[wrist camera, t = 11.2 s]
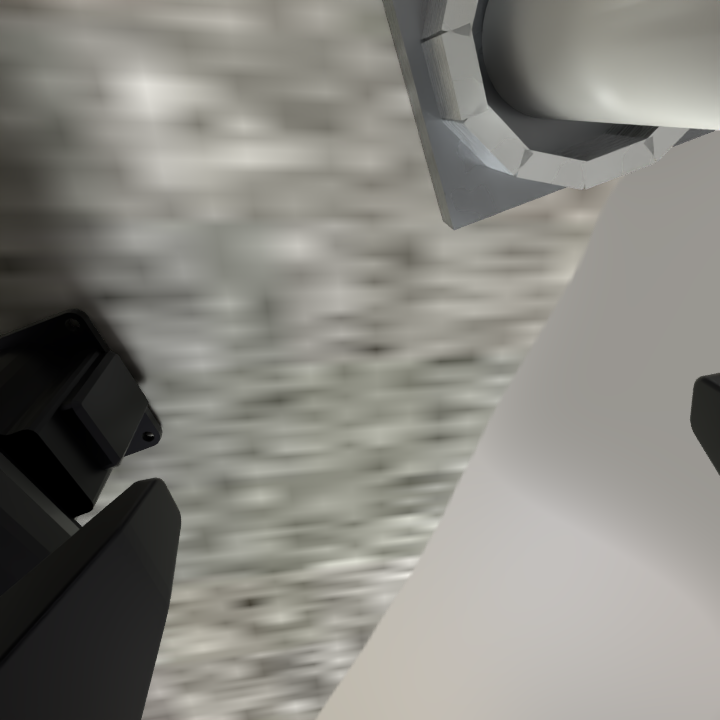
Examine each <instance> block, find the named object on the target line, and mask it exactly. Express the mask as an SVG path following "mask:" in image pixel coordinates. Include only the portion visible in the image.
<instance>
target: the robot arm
mask: <svg viewBox="0 0 720 720" xmlns="http://www.w3.org/2000/svg"><path fill="white" fill-rule="evenodd" d="M69 319H75V320H76V321H77V322H79V325H80V327H74V326H72V325H71V324H70V322H69ZM147 406H148V400H147V398H146V397H145V395H144V394H143V392H142V391H141V389H140V388H139V386H138V385H137V383H136V382H135V380H134V379H133V377H132V375H131V374H130V372H129V371H128V369H127V368H126V366H125V365H124V363H123V362H122V360H121V359H120V357H119V355H118V354H116V353H114V352H112V351H110V349H109V347H108V346H107V344H106V343H105V341H104V340H103V338H102V337H101V335H100V334H99V332H98V331H97V329H96V328H95V326H94V325H93V323H92V322H91V320H90V318H89V317H88V316H87V315H86V314H85V313H84V312H83V311H81V310H78V309H69V310H66V311H64V312H61V313H58V314H56V315H53V316H51V317H48V318H46V319H43V320H40V321H38V322H35V323H33V324H30V325H28V326H25V327H22V328H20V329H17V330H15V331H12V332H10V333H7V334H4V335H2V336H0V720H141V718H142V714H143V710H144V706H145V702H146V698H147V694H148V690H149V686H150V682H151V678H152V674H153V670H154V666H155V662H156V658H157V654H158V650H159V646H160V642H161V638H162V634H163V630H164V626H165V622H166V618H167V614H168V609H169V604H170V599H171V593H172V586H173V579H174V572H175V564H176V557H177V550H178V543H179V536H180V529H181V515H180V511H179V509H178V507H177V505H176V503H175V501H174V499H173V498H172V496H171V494H170V492H169V490H168V488H167V486H166V484H165V483H164V481H163V480H162V479H160V478H151V479H146V480H140V481H137V482H135V483H134V484H132V485H131V486H130V487H129V488H128V489H126V490H125V491H124V492H123V493H122V494H121V495H119V496H118V497H117V498H116V499H115V500H113V501H112V502H111V503H110V504H109V505H108V506H106V507H105V508H104V509H103V510H102V511H100V512H99V513H98V514H97V515H96V516H95V517H93V518H92V519H91V520H90V521H89V522H88V523H86V524H85V525H84V526H83V527H82V526H81V525H80V524H79V523H78V522H77V521H76V519H77V518H78V516H80V515H82V514H85V513H88V512H90V511H91V510H93V508H94V506H95V504H96V502H97V500H98V498H99V496H100V494H101V492H102V490H103V488H104V486H105V483H106V481H107V479H108V477H109V475H110V473H111V471H112V469H113V468H114V467H117V466H119V465H120V463H121V461H122V459H123V457H125V456H127V455H130V454H133V453H135V452H138V451H141V450H144V449H146V448H149V447H152V446H154V445H156V444H158V442H159V441H160V439H161V436H162V429H161V427H160V425H159V424H158V422H157V421H156V419H155V418H154V416H153V415H152V413H151V412H150V410H149V408H148V407H147ZM690 422H691V427H692V430H693V432H694V434H695V436H696V437H697V439H698V441H699V442H700V444H701V446H702V447H703V449H704V451H705V452H706V454H707V455H708V457H709V459H710V461H711V462H712V464H713V465H714V467H715V469H716V470H717V472H718V474H719V475H720V373H716V374H711V375H706V376H701V377H699V378H698V379H697V380H696V381H695V383H694V388H693V397H692V406H691V415H690ZM144 432H151V433H152V434H153V435H154V436H147V435H146V434H145V433H144Z"/></svg>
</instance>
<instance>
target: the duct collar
mask: <svg viewBox="0 0 720 720" xmlns="http://www.w3.org/2000/svg"><path fill="white" fill-rule="evenodd" d="M382 1H383V5H384V8H385V12H386V15H387V19H388V23H389V26H390V30H391V34H392V37H393V41H394V44H395V48H396V52H397V55H398V59H399V63H400V66H401V70H402V73H403V77H404V81H405V84H406V88H407V92H408V95H409V99H410V102H411V106H412V110H413V113H414V117H415V121H416V124H417V128H418V131H419V135H420V139H421V142H422V146H423V150H424V153H425V157H426V160H427V164H428V168H429V171H430V175H431V179H432V182H433V186H434V190H435V193H436V197H437V200H438V204H439V208H440V211H441V215H442V219H443V222H445V223H446V224H447V225H448V226H449V227H451V228H452V229H453V230H456V229H458V228H461V227H464V226H466V225H469V224H471V223H474V222H477V221H479V220H482V219H485V218H487V217H490V216H492V215H495V214H498V213H500V212H503V211H506V210H508V209H511V208H513V207H516V206H519V205H521V204H524V203H527V202H529V201H532V200H534V199H537V198H540V197H542V196H545V195H548V194H550V193H553V192H555V191H558V190H561V189H563V188H566V187H571V188H576V189H581V190H583V189H588V188H591V187H594V186H596V185H599V184H602V183H604V182H607V181H609V180H612V179H615V178H617V177H620V176H623V175H625V174H628V173H630V172H633V171H636V170H638V169H641V168H644V167H646V166H649V165H651V164H654V163H655V161H659V160H660V159H661V158H662V157H663V156H664V154H665V153H666V152H667V151H668V150H669V149H670V148H671V147H674V146H676V145H679V144H681V143H684V142H686V141H689V140H692V139H694V138H697V137H700V136H702V135H705V134H708V133H710V132H713V131H715V130H709V129H694V128H679V127H664V126H648V125H633V124H618V123H603V122H588V121H573V120H557V119H542V118H536V117H532V116H528V115H525V114H523V113H521V112H519V111H517V110H516V109H514V108H513V107H511V106H510V105H509V104H508V103H507V102H506V101H505V100H504V99H503V98H502V97H501V96H500V95H499V93H498V92H497V91H496V89H495V87H494V86H493V84H492V82H491V80H490V77H489V75H488V72H487V70H486V66H485V62H484V56H483V49H482V31H483V21H484V16H485V11H486V7H487V4H488V1H489V0H382Z"/></svg>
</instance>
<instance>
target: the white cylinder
mask: <svg viewBox="0 0 720 720" xmlns="http://www.w3.org/2000/svg"><path fill="white" fill-rule="evenodd" d="M482 49H483V56H484V62H485V66H486V70H487V72H488V75H489V77H490V80H491V82H492V84H493V86H494V87H495V89H496V91H497V92H498V93H499V95H500V96H501V97H502V98H503V99H504V100H505V101H506V102H507V103H508V104H509V105H510V106H511V107H513V108H514V109H516V110H517V111H519V112H521V113H523V114H525V115H528V116H532V117H536V118H542V119H557V120H573V121H588V122H603V123H618V124H633V125H648V126H664V127H679V128H694V129H709V130H720V0H489V1H488V4H487V7H486V11H485V16H484V21H483V31H482Z"/></svg>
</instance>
